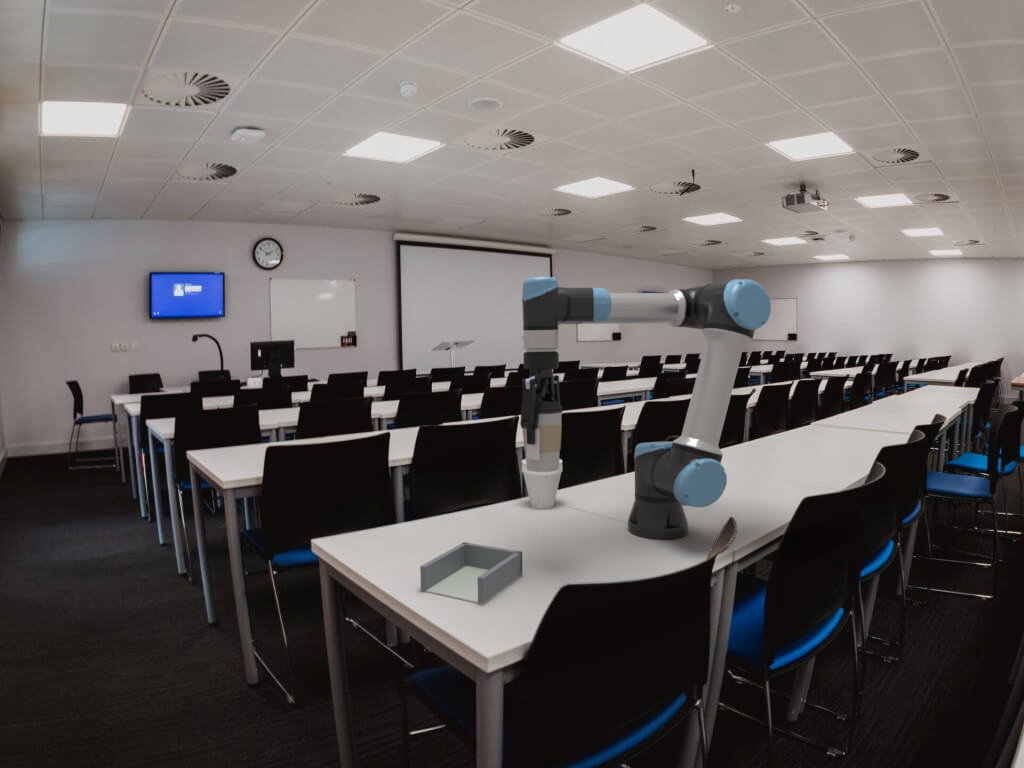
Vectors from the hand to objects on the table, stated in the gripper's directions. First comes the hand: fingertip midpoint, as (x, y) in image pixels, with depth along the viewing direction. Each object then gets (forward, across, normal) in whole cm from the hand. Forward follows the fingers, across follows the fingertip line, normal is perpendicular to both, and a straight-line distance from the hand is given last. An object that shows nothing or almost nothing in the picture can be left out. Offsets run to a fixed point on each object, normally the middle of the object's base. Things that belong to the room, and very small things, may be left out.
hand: (542, 455), depth 131 cm
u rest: (+24, +15, -9) cm, 30 cm away
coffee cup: (+3, 0, 0) cm, 3 cm away
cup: (+25, -45, -21) cm, 55 cm away
